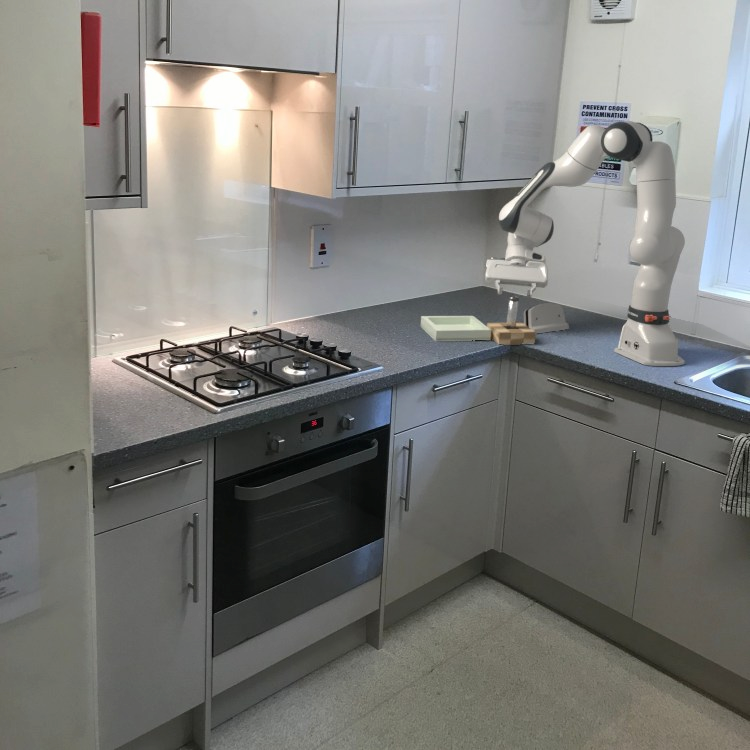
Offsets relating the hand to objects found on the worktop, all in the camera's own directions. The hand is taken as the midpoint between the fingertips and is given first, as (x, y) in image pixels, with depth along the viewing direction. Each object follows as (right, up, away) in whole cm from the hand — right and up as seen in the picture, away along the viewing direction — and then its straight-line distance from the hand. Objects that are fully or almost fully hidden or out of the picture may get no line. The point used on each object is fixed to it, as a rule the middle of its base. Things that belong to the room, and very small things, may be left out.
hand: (514, 294), depth 289 cm
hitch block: (-2, -14, -2) cm, 15 cm away
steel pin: (-2, -15, -2) cm, 15 cm away
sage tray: (-19, -12, +2) cm, 23 cm away
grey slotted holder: (+12, -11, +13) cm, 21 cm away
